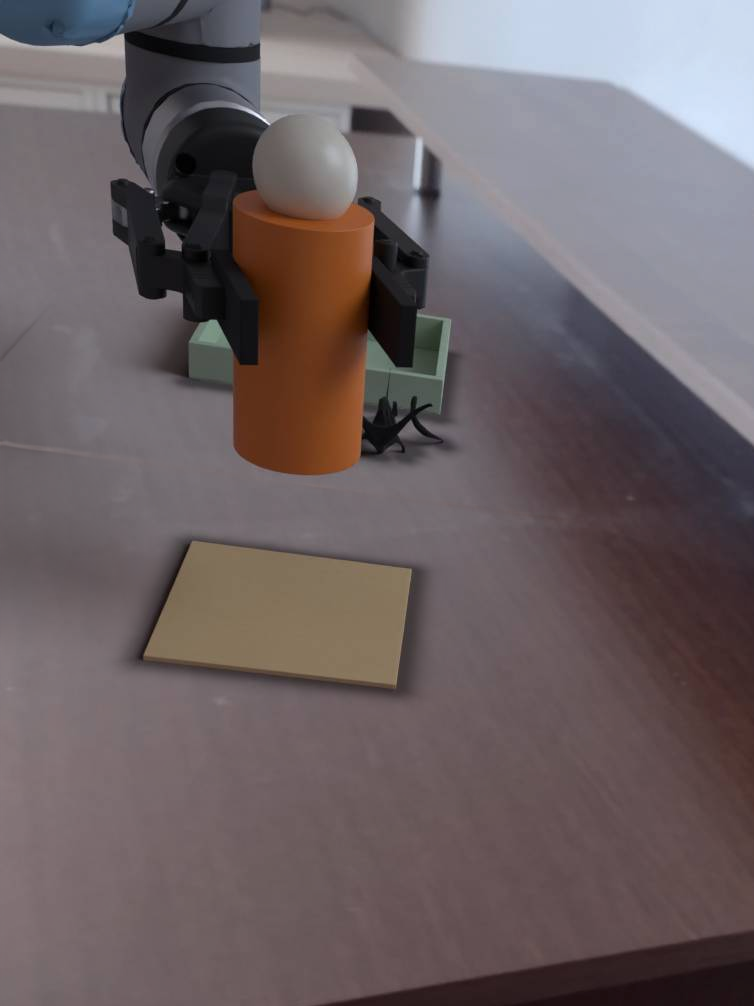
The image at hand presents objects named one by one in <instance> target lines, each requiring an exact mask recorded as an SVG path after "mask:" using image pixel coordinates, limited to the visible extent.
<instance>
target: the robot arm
mask: <svg viewBox="0 0 754 1006" xmlns="http://www.w3.org/2000/svg"><path fill="white" fill-rule="evenodd" d="M261 8H262V0H0V35H1V36H4V37H6V38H8V39H9V40H12V41H14V42H17V43H20V44H24V45H27V46H28V45H29V46H34V47H60V46H61V47H64V46H66V47H67V46H68V47H69V46H73V47H85V46H88V45H92V44H102V43H104V42H107V41H109V40H111V39H112V38H114V37H117V36H120V35H123V40H124V64H125V65H124V66H125V67H124V68H125V77H124V80H123V82H122V84H121V88H120V95H119V114H120V128H121V133H122V137H123V140H124V141H125V142H126V144H127V146H128V149H129V154H131V156H132V157H133V159H134V161H135V164H136V165H137V166H139V168H140V170H141V171H142V173H143V175H145V178H146V179H147V181H148V183H149V185H150V186H151V187H142V186H140V185H139V184H137V183H136V182H134V181H130V180H129V179H127V178H117V179H113V180H110V182H109V187H110V203H111V205H110V206H111V224H112V234H113V236H114V237H116V238H117V239H119V240H120V242H122V243H123V244H125V245H126V246H128V250H129V255H130V260H131V264H132V269H133V274H134V278H135V283H136V287H137V292H138V295H139V296H140V297H142V298H144V299H147V300H150V301H151V300H153V301H157V300H161V299H162V300H163V299H166V298H167V296H168V291H172V292H176V293H179V294H181V295H182V317H183V319H184V320H185V321H188V322H191V323H202V322H208V321H209V320H217V322H218V323H219V325H220V327H221V329H222V331H223V333H224V335H225V337H226V339H227V341H228V343H229V345H230V347H231V349H232V351H233V352H234V354H235V356H236V358H237V360H238V362H239V364H240V365H258V332H259V300H258V298H257V296H256V295H255V293H254V291H253V290H252V288H251V286H250V285H249V283H248V281H247V280H246V278H245V276H244V275H243V273H242V271H241V270H240V268H239V266H238V265H237V263H236V261H235V260H234V258H233V200H234V198H235V197H236V196H237V195H239V194H241V193H244V192H248V191H253V190H257V188H256V185H255V182H254V176H253V167H252V164H253V155H254V150H255V148H256V145H257V142H258V140H259V138H260V136H261V135H262V134H263V132H264V131H265V130H266V129H267V128H268V127H269V126H270V125H271V124H270V122H269V121H268V120H267V118H266V117H264V115H263V114H262V113H261V78H262V77H261V75H262V74H261V71H262V70H261V67H262V65H261V63H262V62H261V61H262V58H261V13H262V9H261ZM352 202H353V201H352ZM353 203H355V204H357V205H359V206H361V207H363V208H365V209H367V210H368V211H369V212H371V213H372V215H373V216H374V236H373V253H372V269H371V286H370V303H369V320H368V330H369V331H370V333H371V334H372V335H373V337H374V338H375V339H376V341H377V342H378V343H379V345H380V346H381V348H382V349H383V350H384V352H385V353H386V354H387V356H388V357H389V358H390V360H391V361H392V363H393V364H394V365H395V367H403V368H413V356H414V344H415V332H416V319H417V314H418V310H419V311H420V310H423V309H425V308H426V306H427V305H426V304H427V303H426V302H427V292H428V280H429V269H430V268H429V267H430V258H431V257H430V253H428V252H427V251H426V250H425V249H424V248H422V246H420V245H419V244H418V243H417V242H416V241H415V240H414V239H413V238H411V236H410V235H408V234H407V233H406V232H404V230H402V228H401V227H399V226H398V225H397V224H396V223H395V222H393V220H391V219H390V218H389V217H388V216H387V215H386V214H385V213H384V212H383V211H382V202H381V200H379V199H376V198H375V197H373V196H368V195H367V196H362V197H358V198H357V202H353ZM163 225H164V226H165V227H166V229H168V230H169V231H171V232H173V233H175V235H176V236H177V237H178V239H179V240H180V241H181V244H180V245H181V250H175V249H169V248H166V238H165V235H164V232H163V228H162V227H163Z"/></svg>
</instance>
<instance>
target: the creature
mask: <svg viewBox="0 0 754 1006" xmlns="http://www.w3.org/2000/svg"><path fill="white" fill-rule="evenodd" d="M390 369H391V368H390ZM389 378H390V373H389ZM388 388H389V381H388V387H387V394H386V397H385V396H384V397H382V398H380V399H379V404H378V405H377V411H376V413H375V416H374V418H373V421H372V422H371V421H370V420H368V418H366V417H365V416H364V415H363V421H362V430H363V431H364V433H362V438H361V443H362V442H363V440H367V441H368V442H369V443H370V444H371V445H372V446H373V447H374V449H375V451H376V452H377V454H379V455H382V454H383V453H384V452H385V451H386V450H387V449H389V448H390V447H391V446H394V445H395V444H399V446H400V447H401V453H402V454H406V446H405V445H404V443H403V442H402V440H401V438H400V437H399V434H400V433H401V431H402V430H403V429H404V428H405V426H407V425H408V423H410V421H411V422H412V423H411V424H412V425H413V427H414V428H415V430H416V431H417V432H418V433H420V434H421V436H423V437H426V438H429V439H433V440H437V441H441V442H442V443H444V442H445V440H443V439H442V438H441V437H440V436H437V435H436V434H434V433H432V432H431V431H429V430H428V429H427V428H426V427H425V426H424V425H423V424H422V423H421V422H420V421H419V419H418V416H417V415H418V414H419V413H422V412H421V411H422V410H424V409H426V408H428V407H433V405H432V404H425V405H423V406H421V407H418V408H417V409H416V404H417V396H413V397H412V399H411V408H410V410H409V413H407V415H405V416H404V417H403V418H401V420H399V421H397V422H396V417H398V415H399V411H398V409H399V408H397V402H396V401H393V406H392V407H390V403H389V400H388Z"/></svg>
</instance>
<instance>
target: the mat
mask: <svg viewBox="0 0 754 1006" xmlns="http://www.w3.org/2000/svg"><path fill="white" fill-rule="evenodd" d="M412 571H413V569H412V568H408V567H407V568H406V567H400V566H392V565H386V564H385V565H384V564H377V563H376V564H375V563H368V562H361V561H354V560H353V561H352V560H344V559H339V558H338V559H337V558H331V557H324V556H323V557H321V556H315V555H308V554H307V555H306V554H300V553H299V554H298V553H291V552H283V551H276V550H267V549H261V548H252V547H244V546H237V545H228V544H221V543H214V542H205V541H198V540H191V542H190V545H189V547H188V550H187V552H186V554H185V556H184V559H183V561H182V563H181V566H180V568H179V571H178V573H177V575H176V578H175V580H174V582H173V585H172V587H171V589H170V592H169V594H168V596H167V598H166V601H165V602H164V603H165V604H164V606H163V608H162V610H161V612H160V615H159V617H158V619H157V621H156V624H155V627H154V629H153V631H152V634H151V636H150V638H149V641H148V643H147V645H146V647H145V650H144V652H143V655H142V660H143V661H150V662H156V663H157V662H158V663H166V664H175V665H182V666H183V665H184V666H192V667H200V668H201V667H202V668H210V669H216V670H217V669H219V670H227V671H235V672H244V673H252V674H261V675H270V676H276V677H277V676H278V677H287V678H295V679H304V680H313V681H314V680H315V681H321V682H322V681H323V682H330V683H338V684H345V685H346V684H348V685H356V686H364V687H374V688H383V689H389V690H396V689H397V683H398V676H399V675H398V674H399V667H400V660H401V652H402V645H403V638H404V631H405V625H406V624H405V623H406V616H407V608H408V602H409V593H410V586H411V578H412Z"/></svg>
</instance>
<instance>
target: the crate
mask: <svg viewBox="0 0 754 1006" xmlns="http://www.w3.org/2000/svg"><path fill="white" fill-rule="evenodd" d="M451 326H452V318H450V317H449V318H448V317H441V316H435V315H430V314H429V315H428V314H422V313H417V319H416V332H415V344H414V356H413V368H403V367H395V365H394V364H393V363H392V361H391V360H390V358H389V357H388V356H387V354H386V353H385V352H384V350H383V349H382V348H381V346H380V345H379V343H378V342H377V341H376V339H375V338H374V337H373V335H372V334H371V333H370V331H369V330H368V337H367V354H366V370H365V387H364V404H367V405H373V406H378V404H379V399H380V398H382V397H384V396H385V397H386V394H387V387H388V381H389V388H388V400H389V403H390V407H391V408H392V406H393V401H396V402H397V409H401V410H407V411H410V408H411V399H412V397H413V396H417V404H416V409H417V408H418V407H421V406H423V405H425V404H432V405H433V407H428V408H426V409H424V410H422V411H421V412H420V413H427V414H433V415H434V414H435V415H441V410H442V402H443V393H444V387H445V386H444V385H445V379H446V370H447V363H448V362H447V361H448V355H449V354H448V353H449V345H450V337H451V336H450V335H451V328H452V327H451ZM187 347H188V351H187V353H188V378H189V379H194V380H201V381H207V382H208V381H209V382H216V383H223V384H227V385H228V384H229V385H233V351H232V349H231V347H230V345H229V343H228V341H227V339H226V337H225V335H224V333H223V331H222V329H221V327H220V325H219V323H218V322H217V320H209V321H208V322H202V323H199V324H198V325H197V327H196V328H195V330H194V332H193V333H192V335H191V337H190V339H189V341H188V343H187ZM390 368H391V369H390ZM389 373H390V378H389Z"/></svg>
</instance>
